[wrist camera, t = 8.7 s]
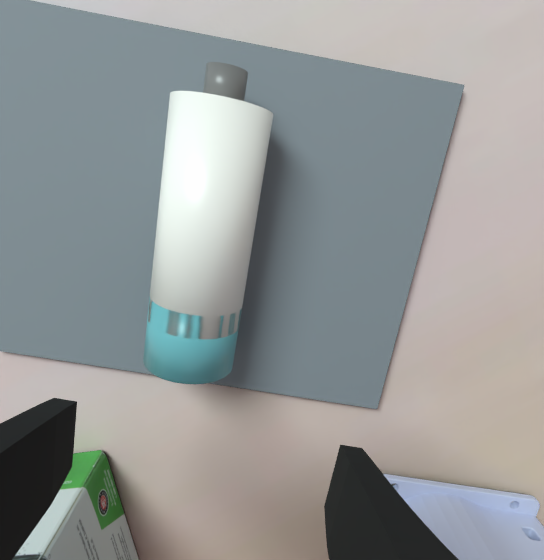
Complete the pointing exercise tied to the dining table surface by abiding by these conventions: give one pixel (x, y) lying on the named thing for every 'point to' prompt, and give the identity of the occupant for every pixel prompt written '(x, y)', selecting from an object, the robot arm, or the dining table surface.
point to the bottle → (205, 227)
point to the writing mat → (271, 211)
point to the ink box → (83, 518)
